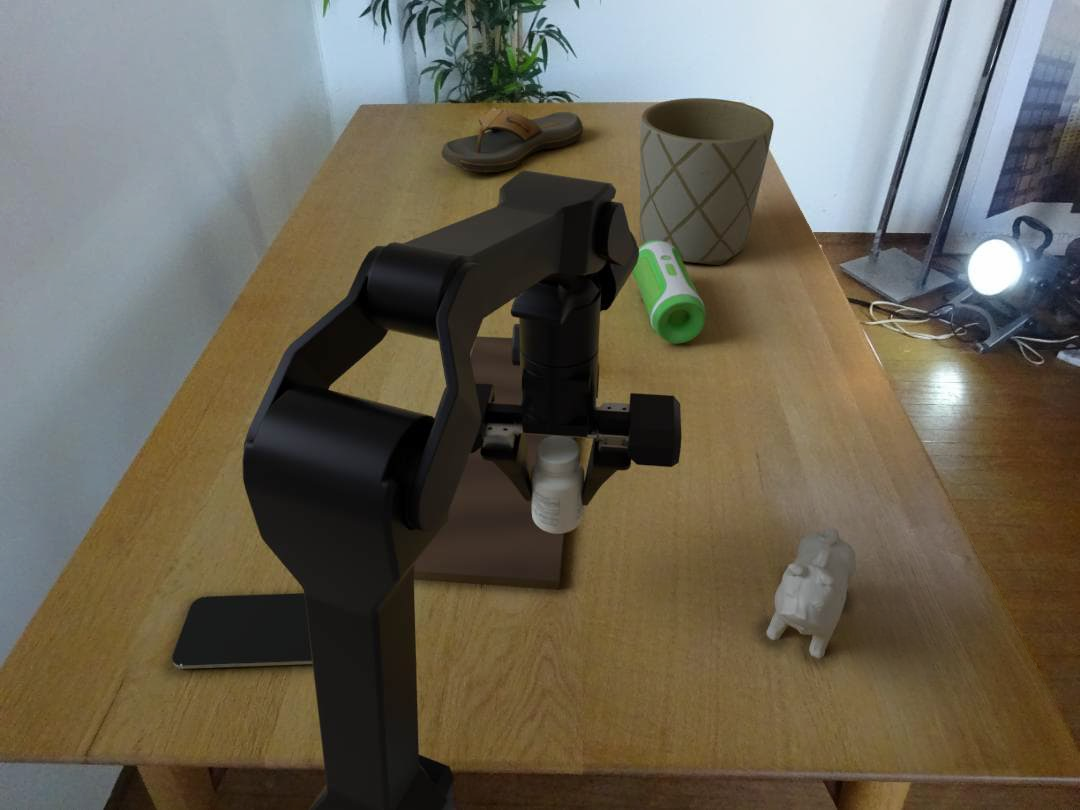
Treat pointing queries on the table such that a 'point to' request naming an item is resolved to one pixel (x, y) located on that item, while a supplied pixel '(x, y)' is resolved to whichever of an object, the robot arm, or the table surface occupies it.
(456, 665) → the table surface
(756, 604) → the table surface
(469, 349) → the robot arm
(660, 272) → the speaker
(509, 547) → the shelf board
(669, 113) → the planter
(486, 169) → the sandal
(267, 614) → the smartphone
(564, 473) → the pill bottle
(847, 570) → the dog figurine
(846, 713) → the table surface
